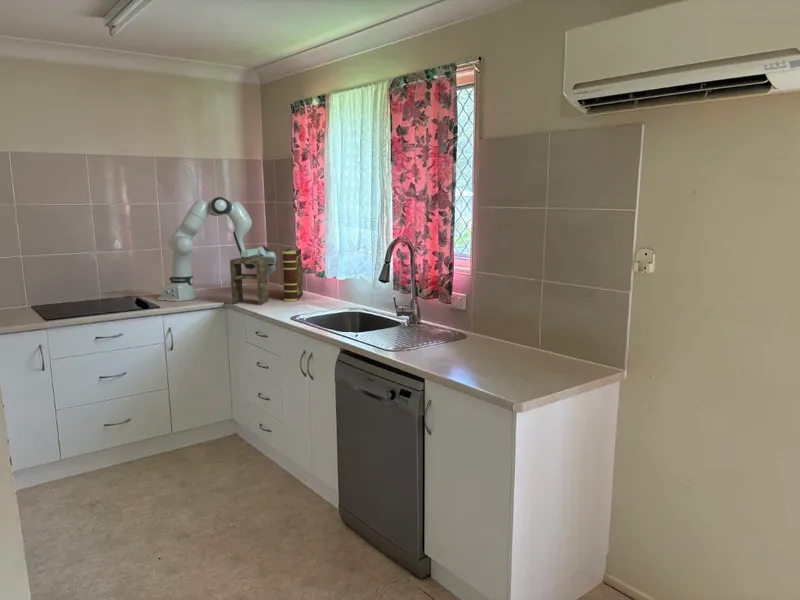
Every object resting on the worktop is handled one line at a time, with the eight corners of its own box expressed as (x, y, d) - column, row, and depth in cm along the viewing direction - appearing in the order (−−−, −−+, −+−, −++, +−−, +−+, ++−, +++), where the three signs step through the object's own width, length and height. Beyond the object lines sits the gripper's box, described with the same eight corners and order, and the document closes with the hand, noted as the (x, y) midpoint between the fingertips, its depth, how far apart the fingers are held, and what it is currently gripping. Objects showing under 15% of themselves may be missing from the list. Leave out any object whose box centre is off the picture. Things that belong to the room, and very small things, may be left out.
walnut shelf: (232, 304, 345) (229, 259, 341) (239, 301, 356) (237, 258, 352) (261, 305, 343) (259, 260, 338) (268, 301, 354) (266, 258, 349)
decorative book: (296, 301, 355) (294, 251, 349) (283, 301, 355) (281, 251, 350) (303, 295, 377) (301, 248, 372) (290, 295, 377) (289, 248, 372)
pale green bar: (241, 256, 340) (241, 251, 339) (253, 253, 358) (253, 248, 358) (247, 256, 339) (247, 251, 338) (260, 253, 358) (260, 248, 357)
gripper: (247, 255, 370) (239, 245, 357) (278, 255, 367) (271, 246, 354) (245, 264, 368) (237, 255, 355) (277, 265, 365) (270, 255, 352)
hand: (254, 250), depth 354 cm, fingers closed on pale green bar, 4 cm apart
